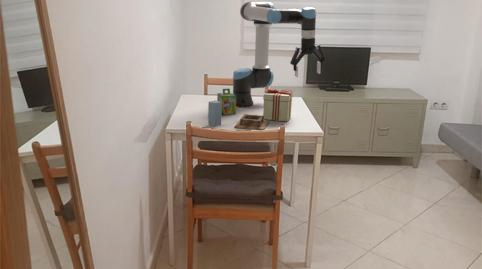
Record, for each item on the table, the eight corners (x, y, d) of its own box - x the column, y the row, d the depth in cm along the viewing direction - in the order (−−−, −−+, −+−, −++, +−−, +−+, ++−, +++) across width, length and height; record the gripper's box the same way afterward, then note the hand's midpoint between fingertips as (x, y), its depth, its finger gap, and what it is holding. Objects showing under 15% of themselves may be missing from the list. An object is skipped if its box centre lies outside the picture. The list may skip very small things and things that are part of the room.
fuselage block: (208, 124, 242) (208, 101, 238) (214, 123, 245) (215, 100, 241) (214, 126, 238) (214, 103, 235) (221, 125, 242) (221, 102, 238)
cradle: (234, 127, 238) (234, 119, 236) (241, 120, 252) (241, 112, 251) (263, 130, 234) (264, 122, 233) (268, 122, 249) (269, 115, 248)
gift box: (291, 114, 269) (293, 86, 264) (289, 122, 252) (291, 92, 246) (264, 112, 271) (265, 84, 266) (260, 120, 254) (261, 90, 249)
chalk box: (221, 115, 261) (222, 91, 257) (216, 111, 269) (216, 87, 265) (236, 114, 265) (236, 90, 260) (230, 110, 273) (231, 87, 268)
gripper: (289, 41, 233) (289, 79, 242) (332, 36, 239) (330, 73, 248) (284, 38, 240) (284, 75, 249) (325, 33, 246) (324, 70, 255)
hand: (307, 74), depth 249 cm, fingers open, 13 cm apart
